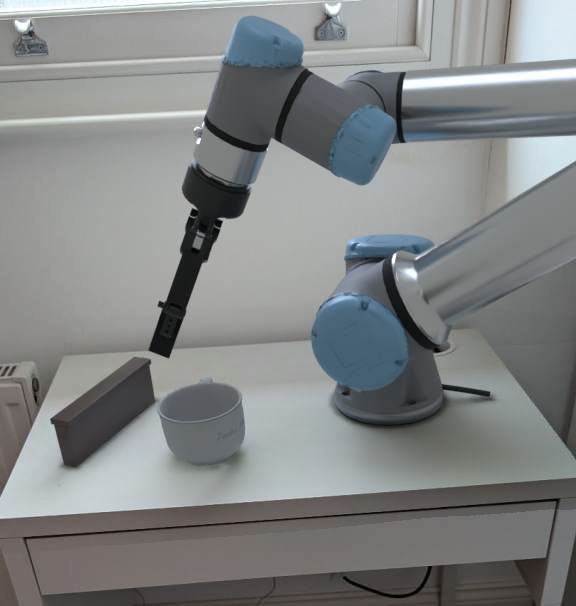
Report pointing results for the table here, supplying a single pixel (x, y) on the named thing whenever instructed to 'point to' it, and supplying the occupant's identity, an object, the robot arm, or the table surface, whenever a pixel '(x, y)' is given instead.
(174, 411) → the teacup
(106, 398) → the back rail
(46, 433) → the table surface
